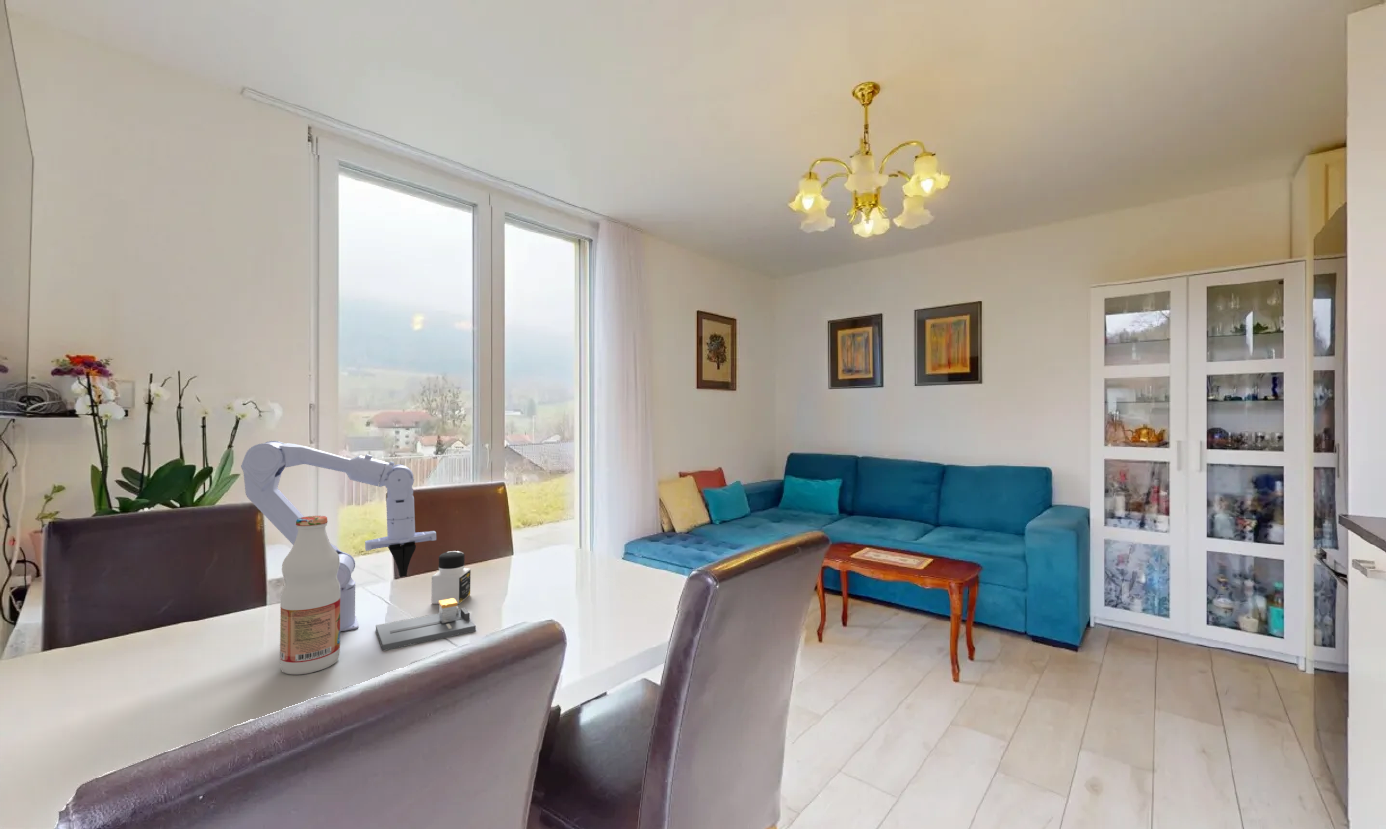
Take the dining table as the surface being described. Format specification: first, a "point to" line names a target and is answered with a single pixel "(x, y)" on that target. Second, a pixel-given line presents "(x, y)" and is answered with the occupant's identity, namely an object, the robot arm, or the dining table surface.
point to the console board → (422, 629)
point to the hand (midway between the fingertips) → (402, 575)
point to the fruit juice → (310, 601)
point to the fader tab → (447, 610)
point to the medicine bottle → (451, 578)
